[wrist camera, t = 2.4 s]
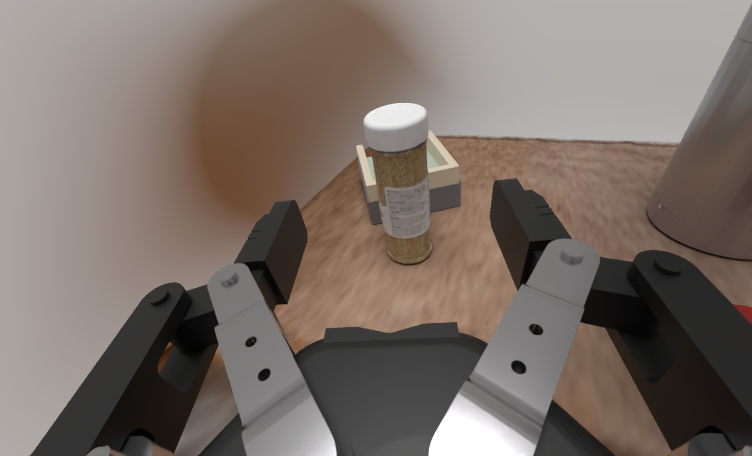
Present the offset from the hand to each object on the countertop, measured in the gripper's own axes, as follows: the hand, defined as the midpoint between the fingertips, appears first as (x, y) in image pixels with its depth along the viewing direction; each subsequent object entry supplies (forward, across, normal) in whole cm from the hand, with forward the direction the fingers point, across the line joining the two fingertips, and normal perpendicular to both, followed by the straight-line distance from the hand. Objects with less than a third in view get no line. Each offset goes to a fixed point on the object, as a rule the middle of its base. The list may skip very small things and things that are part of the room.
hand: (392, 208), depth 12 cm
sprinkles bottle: (+12, 0, +14) cm, 18 cm away
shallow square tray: (+22, 0, +13) cm, 25 cm away
